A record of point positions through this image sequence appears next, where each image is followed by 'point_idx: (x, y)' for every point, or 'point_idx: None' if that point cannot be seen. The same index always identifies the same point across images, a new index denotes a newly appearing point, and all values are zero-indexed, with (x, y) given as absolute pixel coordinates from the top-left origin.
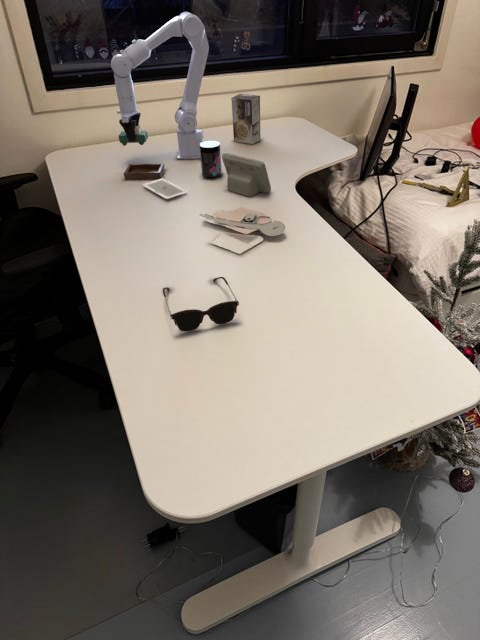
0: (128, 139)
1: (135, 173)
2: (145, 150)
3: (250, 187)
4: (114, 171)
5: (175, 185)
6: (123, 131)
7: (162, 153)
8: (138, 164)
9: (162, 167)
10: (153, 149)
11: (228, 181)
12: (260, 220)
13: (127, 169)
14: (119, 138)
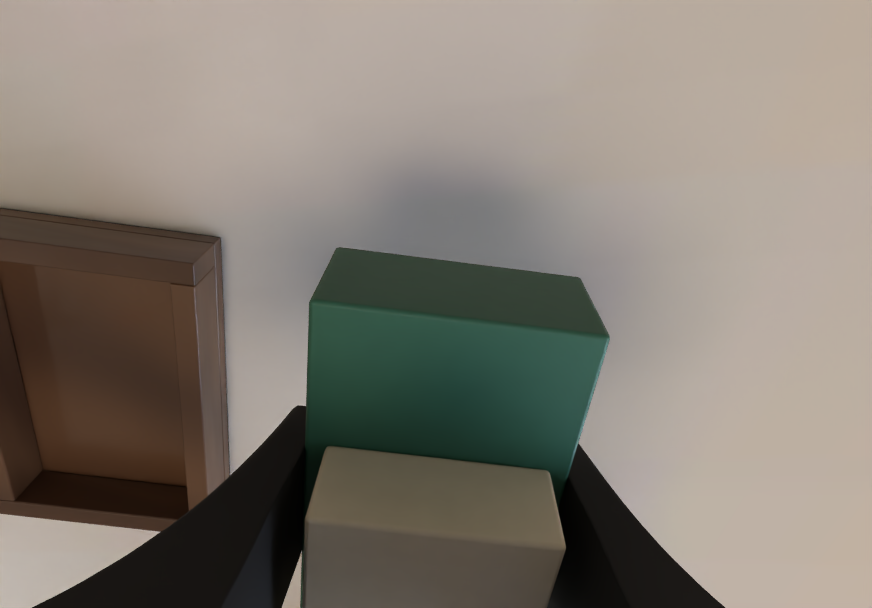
0: (283, 420)
1: None
2: (782, 341)
3: None
4: (212, 60)
5: None
6: (578, 372)
7: (626, 475)
8: (180, 352)
9: (129, 524)
10: (774, 408)
11: None
12: None
13: (30, 257)
14: (317, 287)
